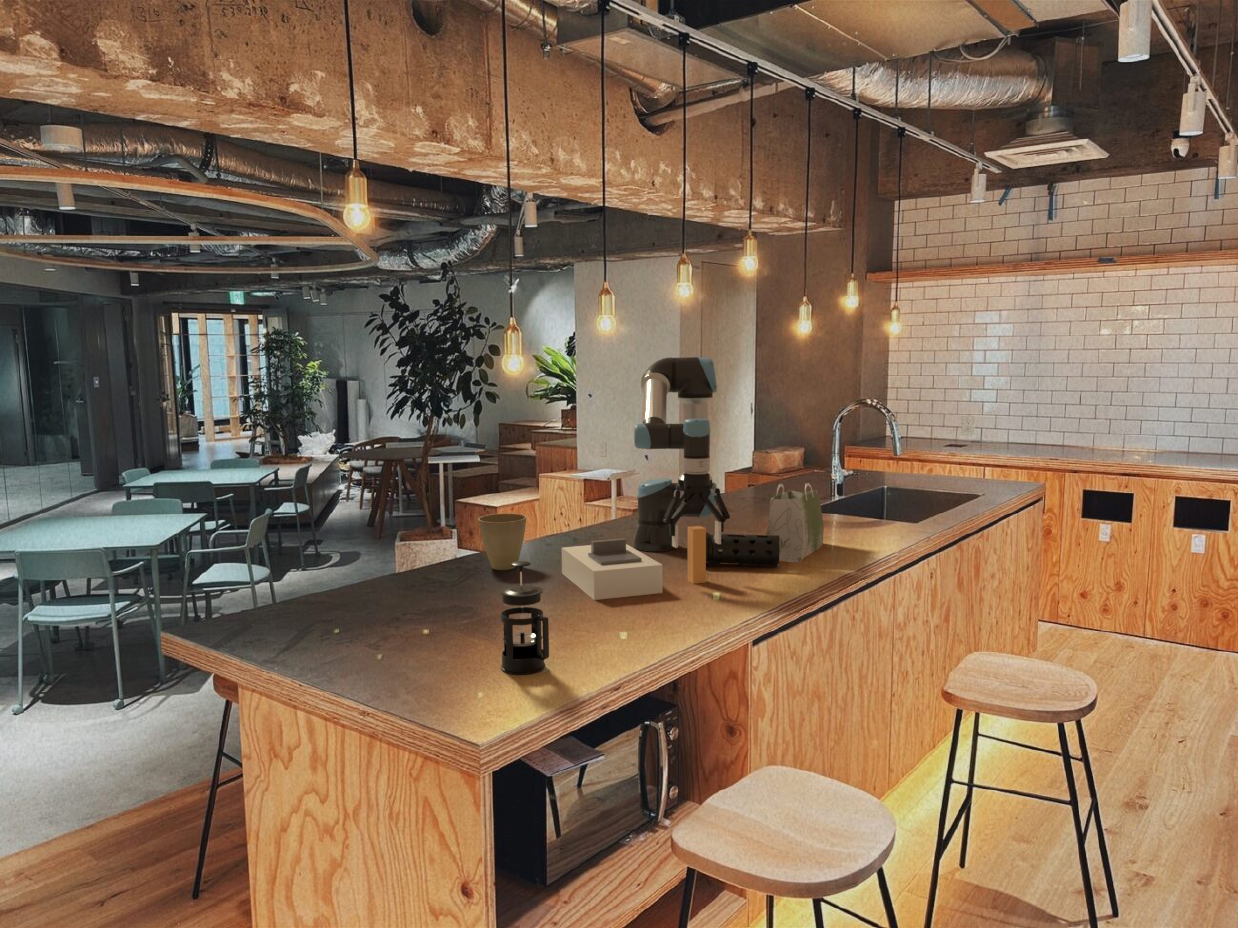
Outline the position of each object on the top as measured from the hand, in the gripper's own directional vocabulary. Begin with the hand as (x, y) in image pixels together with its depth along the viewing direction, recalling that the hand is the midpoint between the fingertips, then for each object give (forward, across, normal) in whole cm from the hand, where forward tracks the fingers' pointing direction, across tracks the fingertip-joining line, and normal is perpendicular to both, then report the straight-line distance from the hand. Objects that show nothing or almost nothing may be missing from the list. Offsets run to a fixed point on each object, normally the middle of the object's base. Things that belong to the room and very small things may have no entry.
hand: (696, 545), depth 262 cm
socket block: (+11, -24, +8) cm, 27 cm away
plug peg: (+11, 0, 0) cm, 11 cm away
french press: (+12, -64, -52) cm, 84 cm away
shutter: (+3, -24, +4) cm, 24 cm away
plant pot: (+11, -49, +38) cm, 63 cm away
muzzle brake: (+11, +19, +14) cm, 26 cm away
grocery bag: (+10, +47, +25) cm, 54 cm away
